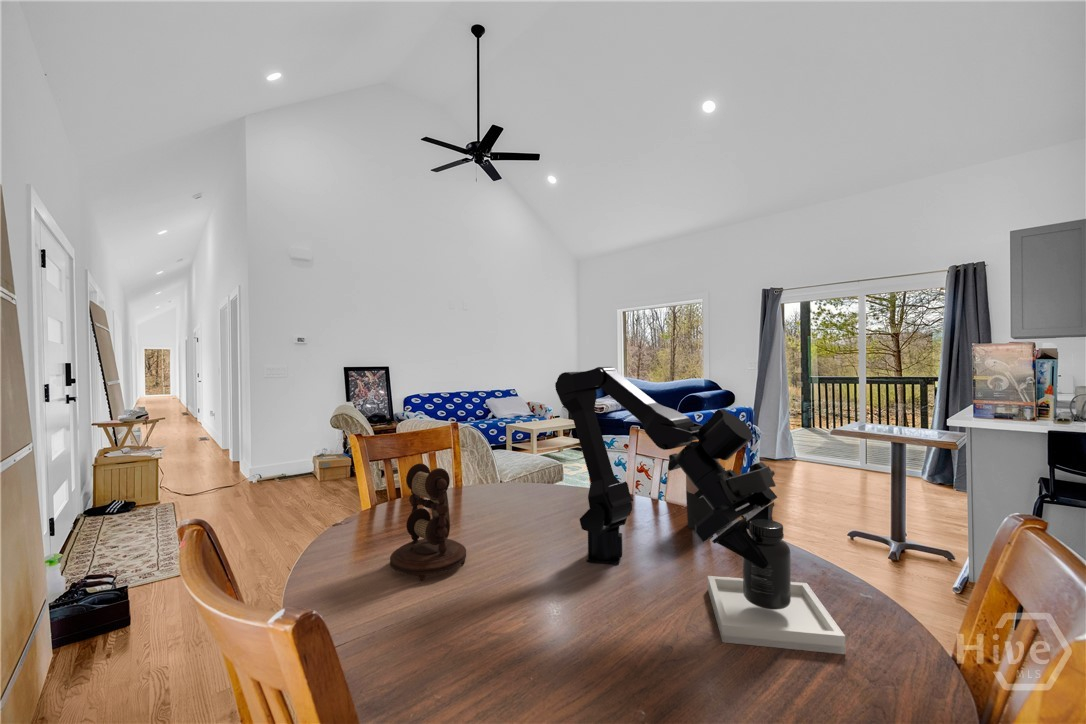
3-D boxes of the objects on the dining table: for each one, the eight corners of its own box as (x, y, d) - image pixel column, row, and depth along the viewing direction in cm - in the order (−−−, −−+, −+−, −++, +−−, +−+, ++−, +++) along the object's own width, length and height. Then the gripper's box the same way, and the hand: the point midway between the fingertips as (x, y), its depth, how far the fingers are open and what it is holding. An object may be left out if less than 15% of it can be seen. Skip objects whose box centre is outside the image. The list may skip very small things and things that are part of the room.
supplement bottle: (801, 606, 74) (801, 527, 74) (766, 614, 72) (766, 533, 72) (766, 586, 81) (766, 514, 81) (733, 593, 78) (733, 519, 78)
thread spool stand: (481, 564, 98) (480, 464, 97) (417, 590, 87) (415, 478, 87) (438, 545, 108) (437, 455, 108) (376, 567, 97) (374, 466, 97)
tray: (722, 642, 70) (722, 624, 70) (707, 589, 86) (707, 575, 86) (845, 654, 67) (845, 636, 67) (806, 597, 82) (806, 583, 82)
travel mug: (681, 522, 121) (680, 441, 121) (711, 520, 122) (710, 440, 121) (693, 533, 113) (692, 447, 113) (725, 531, 114) (724, 446, 114)
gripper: (713, 456, 72) (791, 551, 65) (765, 440, 85) (835, 518, 77) (667, 497, 78) (734, 589, 70) (722, 477, 91) (783, 553, 83)
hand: (775, 560), depth 75 cm, fingers closed on supplement bottle, 7 cm apart
